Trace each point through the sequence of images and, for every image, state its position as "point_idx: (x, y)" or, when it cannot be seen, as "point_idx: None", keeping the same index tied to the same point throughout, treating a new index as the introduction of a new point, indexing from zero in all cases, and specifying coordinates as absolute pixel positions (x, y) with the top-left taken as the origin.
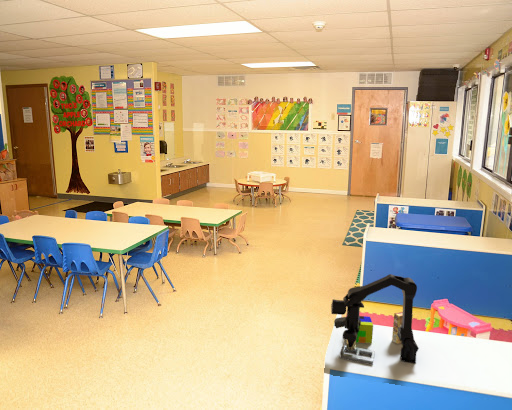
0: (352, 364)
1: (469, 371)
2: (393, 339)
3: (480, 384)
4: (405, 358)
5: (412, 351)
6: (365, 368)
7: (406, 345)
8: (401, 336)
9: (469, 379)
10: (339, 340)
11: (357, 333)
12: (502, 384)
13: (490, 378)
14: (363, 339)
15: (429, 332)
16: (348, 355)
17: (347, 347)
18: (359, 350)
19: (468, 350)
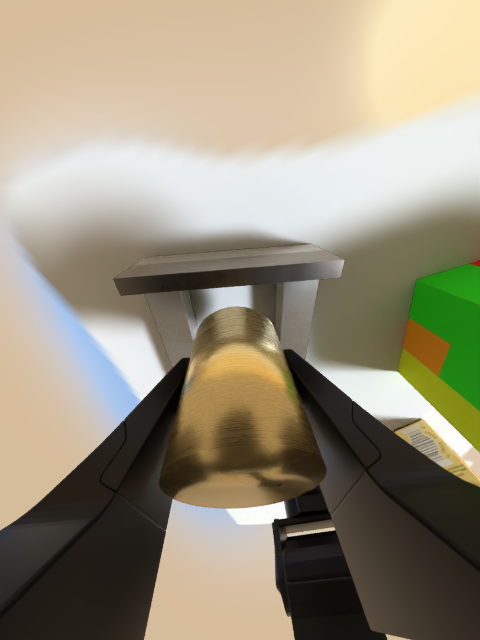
0: (134, 341)
1: (282, 507)
2: (422, 432)
3: (243, 515)
4: None
5: (273, 528)
6: (147, 390)
7: (277, 559)
8: (295, 633)
9: (252, 509)
10: (455, 165)
11: (334, 524)
12: (259, 522)
13: (270, 517)
14: (423, 354)
15: (469, 465)
16: (168, 323)
17: (198, 331)
18: None
19: None
